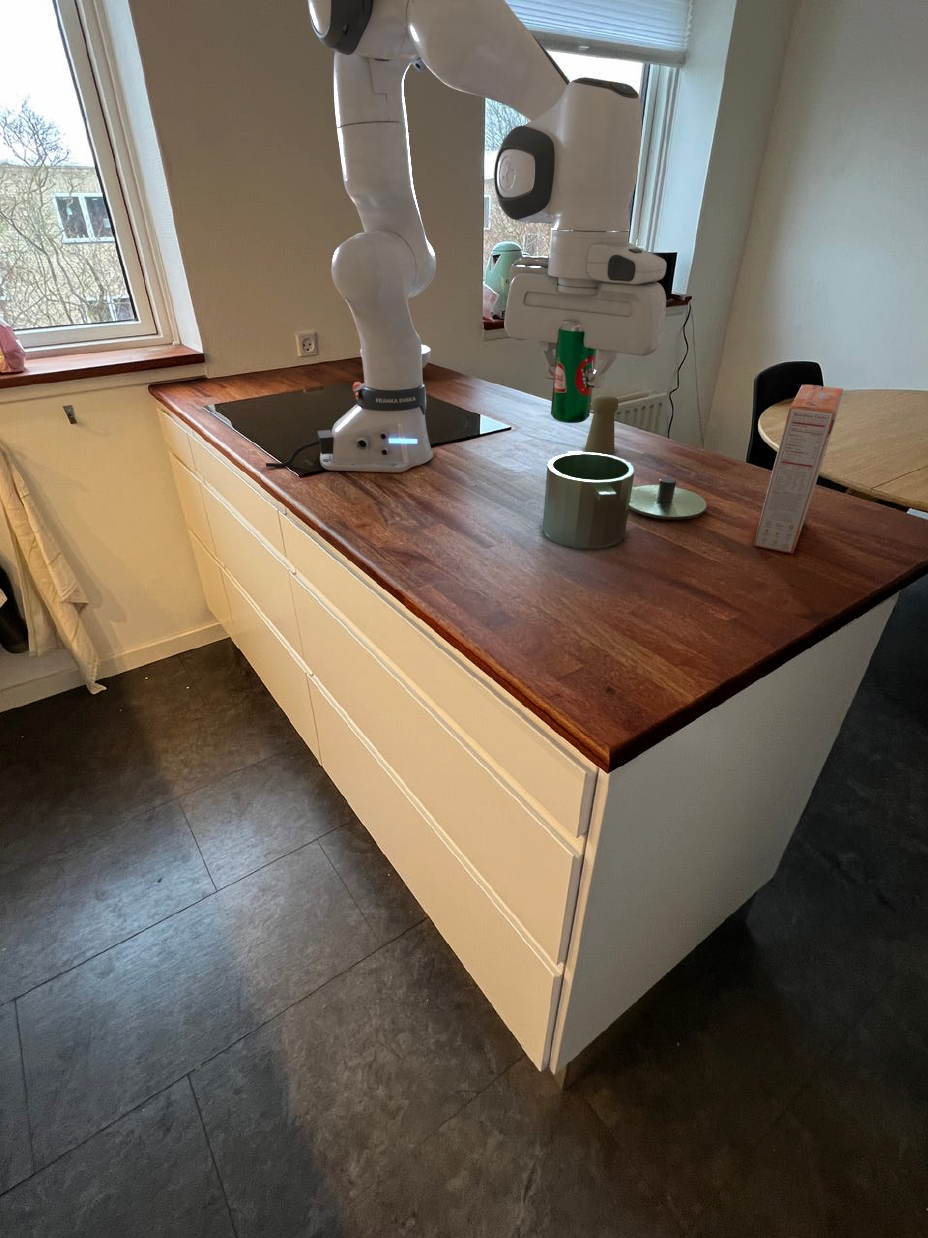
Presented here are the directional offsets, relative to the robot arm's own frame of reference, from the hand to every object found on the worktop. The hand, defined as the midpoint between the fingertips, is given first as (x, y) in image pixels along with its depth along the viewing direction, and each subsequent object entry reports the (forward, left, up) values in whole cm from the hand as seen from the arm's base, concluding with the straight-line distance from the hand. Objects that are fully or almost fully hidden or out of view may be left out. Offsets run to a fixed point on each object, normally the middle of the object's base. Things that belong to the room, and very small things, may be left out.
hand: (573, 383), depth 81 cm
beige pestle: (+19, +43, -24) cm, 53 cm away
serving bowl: (-21, +120, -24) cm, 124 cm away
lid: (+22, +13, -23) cm, 34 cm away
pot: (+5, +5, -24) cm, 25 cm away
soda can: (0, 0, -5) cm, 5 cm away
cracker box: (+35, +1, -24) cm, 43 cm away
